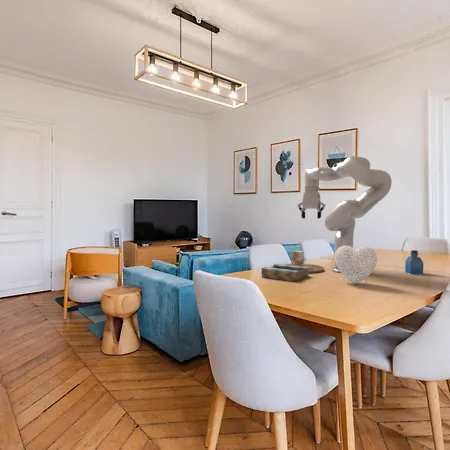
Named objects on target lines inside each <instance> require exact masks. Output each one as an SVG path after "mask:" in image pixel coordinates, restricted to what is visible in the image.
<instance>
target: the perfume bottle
mask: <svg viewBox="0 0 450 450" xmlns="http://www.w3.org/2000/svg"><path fill="white" fill-rule="evenodd" d="M418 252H419V251H418V250H415V249H414V250H413V249H411V250H410V255H409V256H407V258H406V259H405V260H404V261H405V265H404V266H405V267H404V271H405V272H404V273H406V272H407V273H406V274H408V273H409V274H408V275H410V274H423V275H424V262H423V260H422V258H421V257H419V253H418Z"/></svg>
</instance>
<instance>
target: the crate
mask: <svg viewBox="0 0 450 450" xmlns="http://www.w3.org/2000/svg"><path fill="white" fill-rule="evenodd" d="M308 271H309V267H303V266H293V265H284V264H283V263H282V264H281V263H275V264H273V265H272V266H270V267H269V266H264V267H262V268H261V278H264V277H266V279H271V278H273V280H279V279H280V281H286V280H287V281H288V282H293V281H294V282H297V281H300V280H302V279H304V278H307V277H309V274H308Z"/></svg>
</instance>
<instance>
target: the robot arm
mask: <svg viewBox="0 0 450 450" xmlns="http://www.w3.org/2000/svg"><path fill="white" fill-rule="evenodd" d="M346 177H351V178H352V180H354V181H356V182H357V183H358V184H359V185H361V186H363V187H367V188H368V189H366V190H365V191H363V192H362V194H360V195H359V196H358V197H357V198H356V199H347V200H343V201H341V202H340V203H338V204H337V205H336V206H335V207H334V208H333V209H332V210H331V211H330V212H329V213H328V214H327V216H326V217H325V220H324V227H325V228H326V230H328V231H331V232H335V235H334V254H335V253H336V251H337V249H338V248H339V247H341V246H350V247H353V248H354V233H355V227H356V219H361V218H362V217H364V216H365V215H366V214H367V213H369V212H370V211H371V210H372V209H373V208H374V207H375V206H376V205H377V204H379V202H380V201H383V199H384V198H385V197H386V196H387V195H388V194H389V192H390V190H391V188H392V182H393V181H392V177H391V174H389V172H387V171H386V170H382V169H375V168H374V169H373V168H371V162H370V161H369V159H367V158H365V157H363V156H362V157H361V156H354V155H352V156H348V157H347V158H345V160H344V161H343V160H342V161H340V162H338V163H337V165H336V166H335V167H323V166H322V167H320V166H318V167H314V168H307V169H305V171H304V192H303V195H302V201H301V202H300V203H298V204H297V208H298V210H299V211H300V212H301V218H302V219H306V210H309V209H312V210H313V209H314V210H315V209H316V210H317V217H316V218H317V219H321V217H322V212H323V210H324V209H325V208H326V204H325V203H324V202H322V201H321V194H320V193H321V192H320V191H319V190H321V188H320V187H319V182H320V181H321V182H323V181H324V182H325V181H326V182H331V181H338V180H341V179H344V178H346ZM321 206H322V207H321ZM349 251H350V250H349ZM352 251H353V250H352ZM344 252H345V251H344ZM347 252H348V251H347ZM349 253H350V252H349ZM352 253H353V252H352ZM343 254H344V253H343ZM345 256H346V254H345ZM348 256H349V254H348ZM339 257H340V256H339ZM340 259H341V258H340ZM348 259H349V257H348ZM346 261H347V260H346ZM351 262H352V260H351ZM333 265H334V266H333V267H331V270H330V271H332V272H334V273H341V272H340V270H339V269H338V267H337V265H336V262H335V259H334V263H333ZM341 265H342V264H341ZM339 266H340V265H339ZM342 266H343V265H342ZM341 268H342V267H341ZM343 269H344V268H343ZM358 270H359V268H358ZM354 273H355V271H354Z"/></svg>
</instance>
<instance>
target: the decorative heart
mask: <svg viewBox="0 0 450 450" xmlns="http://www.w3.org/2000/svg"><path fill="white" fill-rule="evenodd" d="M349 250H350V251H349ZM352 250H353V251H352ZM344 251H345V252H344ZM347 251H348V252H347ZM349 252H350V253H349ZM352 252H353V253H352ZM343 253H344V254H343ZM345 254H346V256H345ZM348 254H349V256H348ZM339 256H340V257H339ZM348 257H349V259H348ZM340 258H341V259H340ZM334 260H335V262H336V265H337V267H338V269H339V270H340V272H339V273H341V274H342V275H343V277H342V278H343V281H342V282H343V283H344V284H345V282H346V279H347V283H348V284H350V282H351V283H352V284H353V285H356V284H357V285H358V283H360V285H362V284H363V282H362V281H363V280H365V285H366V286H367V285H368V277H369V276H370V275H371V274H372V273H373V271H374V270H375V268H376V266H377V263H378V256H377V253H376V252H375V250H374V249H373V248H371V247H369V246H360V247H358V248H354V246H353V247H350V246H341V247H339V248H338V249H337V251H336V253H335V252H334ZM346 260H347V261H346ZM351 260H352V262H351ZM341 264H342V265H343V266H342V265H341ZM339 265H340V266H339ZM341 267H342V268H341ZM343 268H344V269H343ZM358 268H359V269H358ZM354 271H355V272H354Z"/></svg>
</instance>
